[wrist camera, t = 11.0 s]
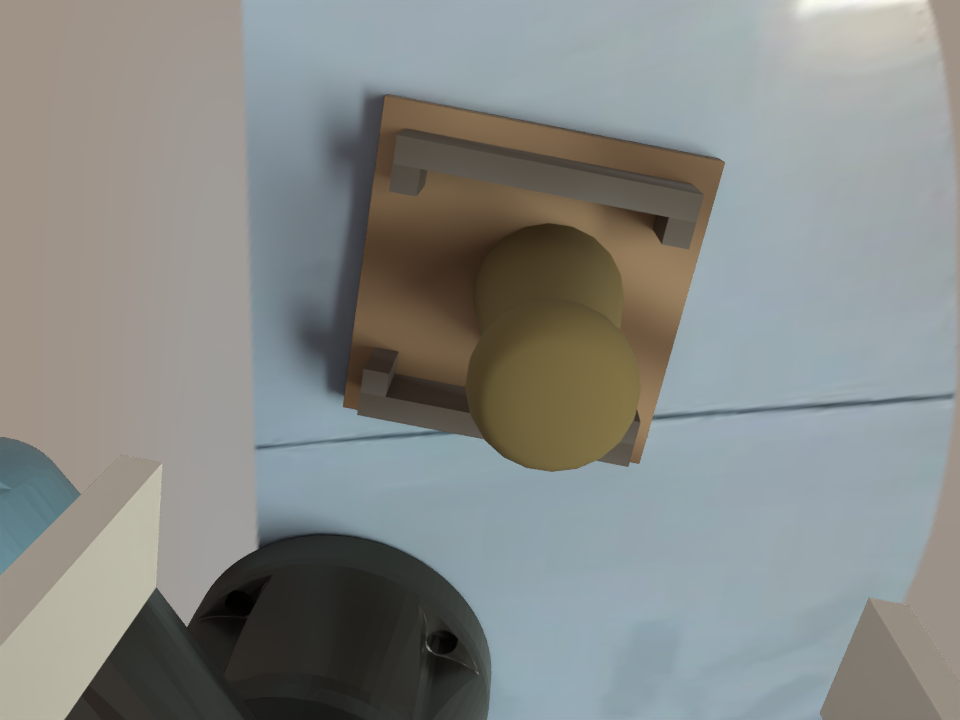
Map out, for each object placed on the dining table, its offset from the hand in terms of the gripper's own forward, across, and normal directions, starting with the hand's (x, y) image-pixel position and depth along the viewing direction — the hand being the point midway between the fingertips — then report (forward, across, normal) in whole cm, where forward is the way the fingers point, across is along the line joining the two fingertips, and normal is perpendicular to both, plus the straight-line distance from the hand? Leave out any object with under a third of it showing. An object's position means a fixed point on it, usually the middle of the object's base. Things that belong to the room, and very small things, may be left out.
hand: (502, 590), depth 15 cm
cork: (+20, -1, 0) cm, 20 cm away
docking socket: (+21, 0, 0) cm, 21 cm away
